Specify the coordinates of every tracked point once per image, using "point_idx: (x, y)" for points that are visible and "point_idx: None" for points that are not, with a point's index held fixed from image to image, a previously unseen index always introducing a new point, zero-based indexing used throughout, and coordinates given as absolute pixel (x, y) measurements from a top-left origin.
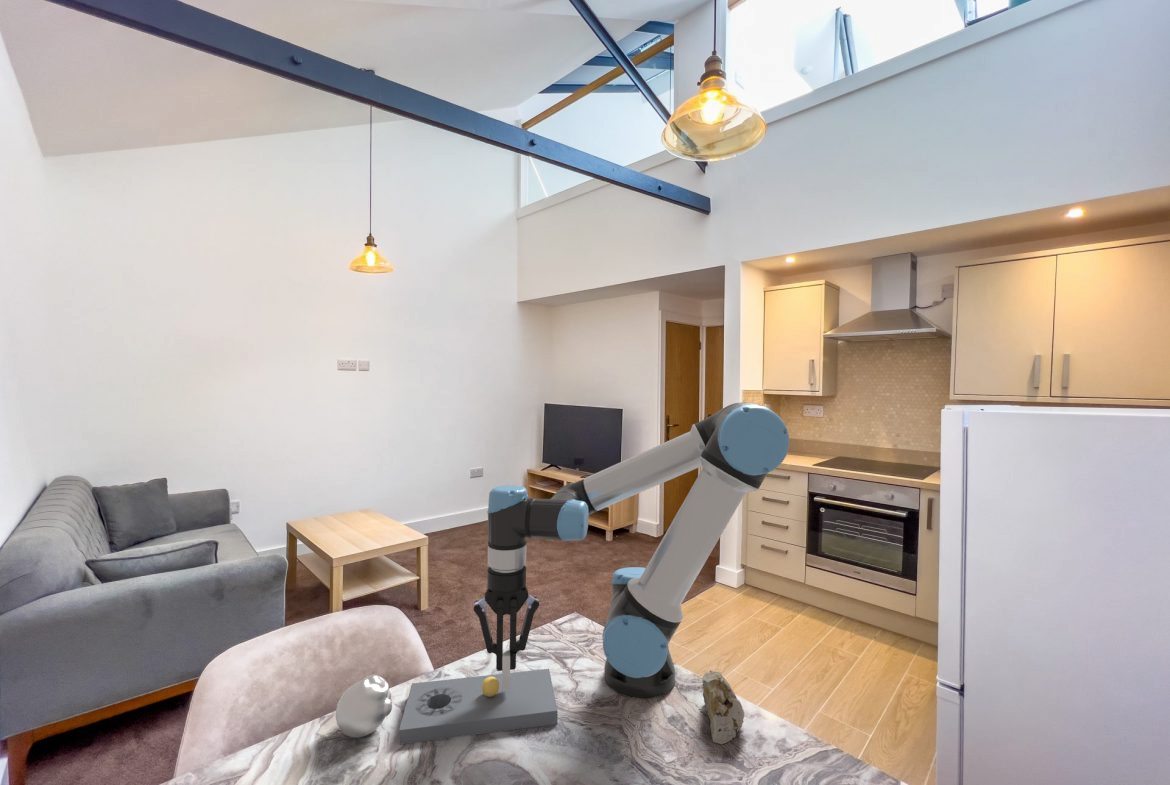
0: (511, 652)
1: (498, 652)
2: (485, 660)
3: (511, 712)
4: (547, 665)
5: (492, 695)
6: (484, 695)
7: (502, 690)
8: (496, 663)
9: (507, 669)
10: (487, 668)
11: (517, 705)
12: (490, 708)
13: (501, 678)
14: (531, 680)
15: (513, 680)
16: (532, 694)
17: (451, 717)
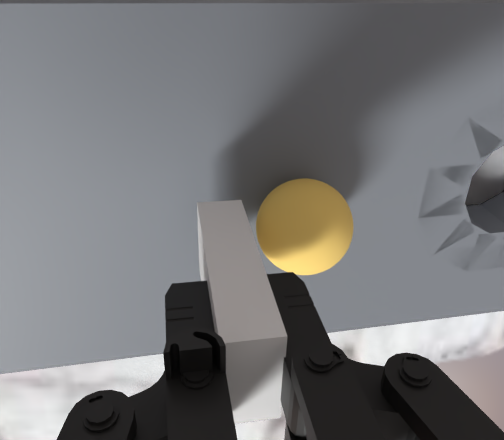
0: (211, 366)
1: (332, 361)
2: (282, 432)
3: (182, 42)
4: (29, 415)
5: (288, 181)
6: None
7: None
8: (312, 306)
9: (226, 269)
10: None
11: (147, 102)
12: (298, 97)
13: None
14: (81, 296)
15: None
16: (63, 187)
17: (493, 55)
